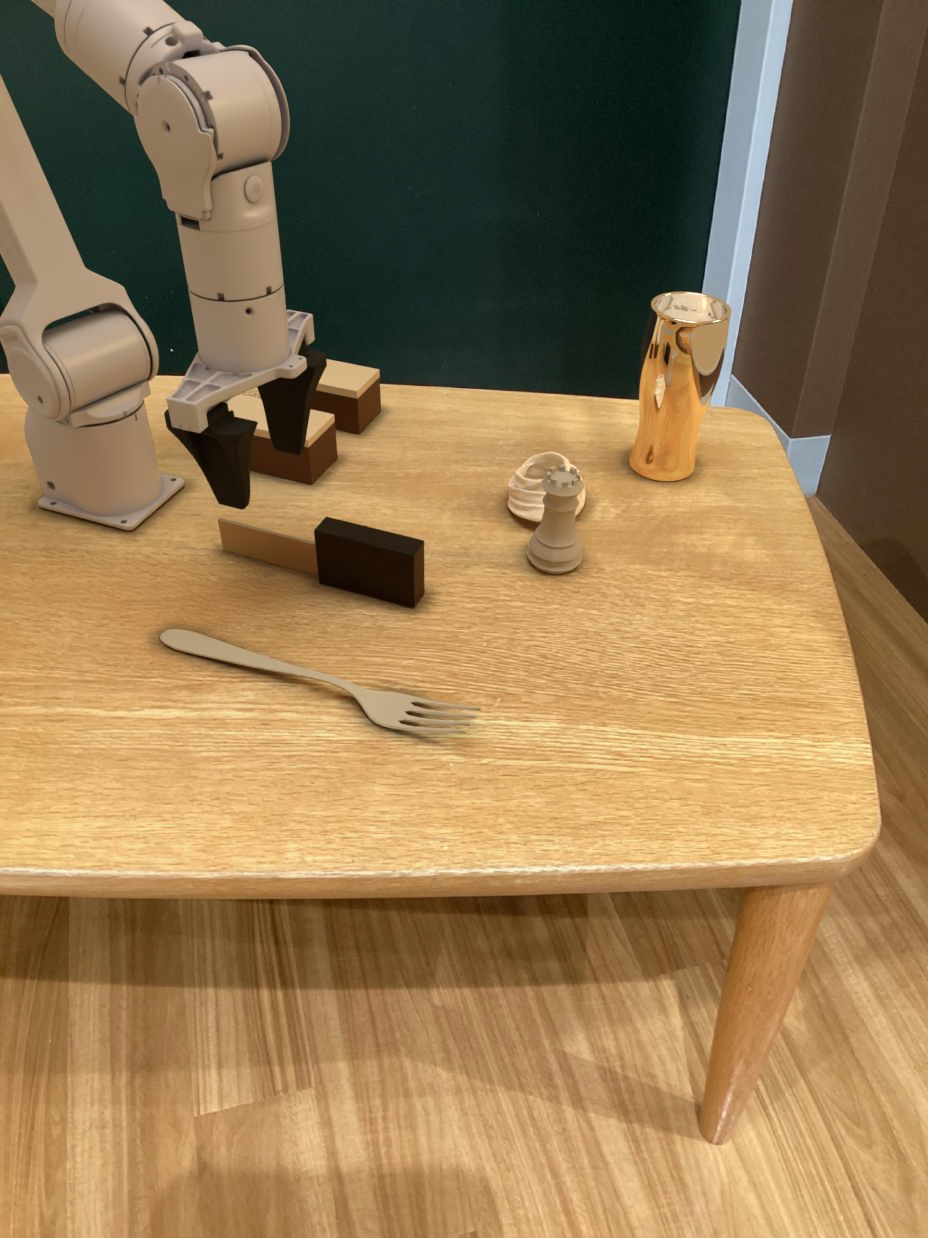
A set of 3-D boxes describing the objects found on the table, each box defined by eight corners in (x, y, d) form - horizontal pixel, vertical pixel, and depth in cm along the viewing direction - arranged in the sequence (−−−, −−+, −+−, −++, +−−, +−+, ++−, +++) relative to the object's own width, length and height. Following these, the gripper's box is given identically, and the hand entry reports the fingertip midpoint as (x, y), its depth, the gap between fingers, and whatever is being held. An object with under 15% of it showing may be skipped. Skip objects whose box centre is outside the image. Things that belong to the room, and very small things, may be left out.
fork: (175, 621, 67) (171, 602, 66) (484, 722, 60) (485, 703, 59) (147, 648, 65) (142, 629, 64) (464, 756, 58) (465, 737, 57)
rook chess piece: (579, 580, 72) (590, 493, 67) (522, 572, 73) (529, 485, 67) (584, 547, 75) (596, 462, 70) (530, 539, 76) (538, 454, 71)
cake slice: (267, 414, 91) (262, 371, 88) (292, 392, 95) (288, 351, 92) (359, 434, 88) (357, 390, 86) (381, 411, 92) (379, 369, 89)
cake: (214, 461, 84) (206, 417, 81) (243, 436, 88) (236, 392, 85) (312, 484, 81) (307, 439, 79) (337, 457, 85) (334, 413, 82)
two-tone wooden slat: (424, 593, 70) (424, 540, 67) (414, 609, 69) (413, 555, 66) (230, 542, 75) (221, 490, 71) (217, 556, 73) (207, 503, 70)
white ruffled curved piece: (569, 546, 77) (580, 501, 73) (492, 525, 78) (499, 479, 74) (590, 492, 82) (600, 446, 79) (518, 472, 83) (525, 427, 80)
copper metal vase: (710, 459, 86) (746, 302, 77) (682, 492, 82) (716, 330, 72) (642, 438, 89) (668, 283, 79) (611, 469, 85) (634, 309, 75)
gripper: (229, 340, 50) (259, 545, 59) (348, 255, 60) (358, 439, 69) (119, 319, 52) (164, 520, 60) (253, 239, 62) (275, 421, 71)
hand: (262, 476), depth 65 cm, fingers open, 7 cm apart
